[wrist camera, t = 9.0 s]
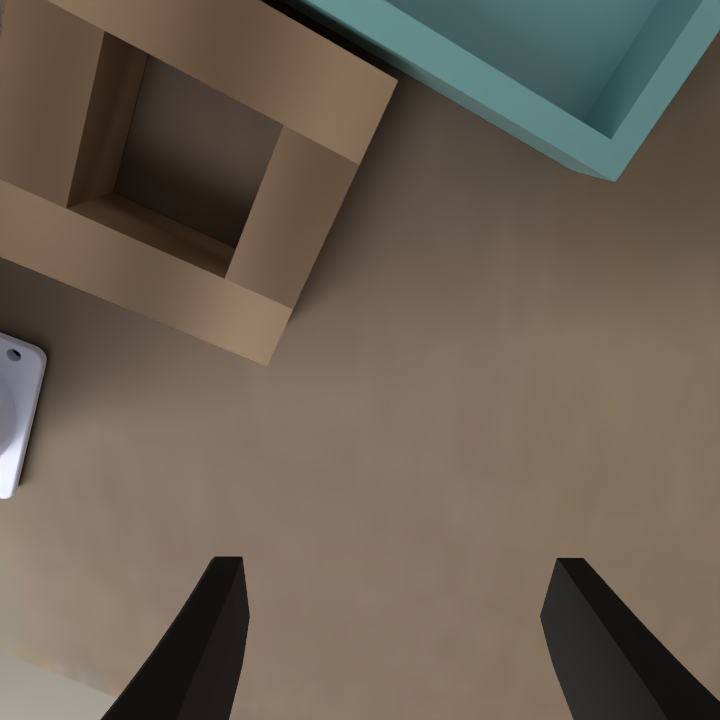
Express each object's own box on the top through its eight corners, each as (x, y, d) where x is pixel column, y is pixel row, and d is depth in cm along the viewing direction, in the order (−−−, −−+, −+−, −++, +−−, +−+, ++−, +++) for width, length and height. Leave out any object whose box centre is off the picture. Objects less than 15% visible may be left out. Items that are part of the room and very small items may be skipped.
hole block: (32, 223, 17) (-29, 244, 14) (91, -86, 13) (24, -137, 10) (279, 329, 19) (266, 366, 16) (390, 85, 15) (398, 80, 12)
